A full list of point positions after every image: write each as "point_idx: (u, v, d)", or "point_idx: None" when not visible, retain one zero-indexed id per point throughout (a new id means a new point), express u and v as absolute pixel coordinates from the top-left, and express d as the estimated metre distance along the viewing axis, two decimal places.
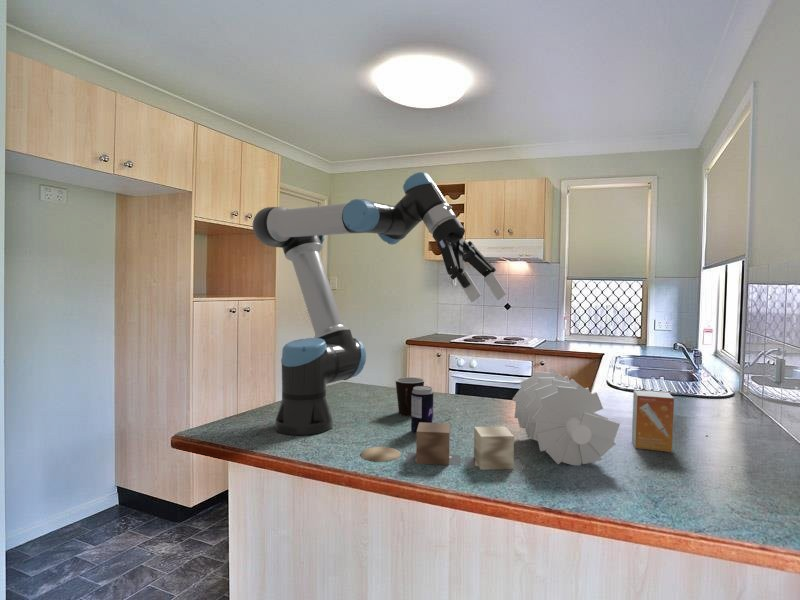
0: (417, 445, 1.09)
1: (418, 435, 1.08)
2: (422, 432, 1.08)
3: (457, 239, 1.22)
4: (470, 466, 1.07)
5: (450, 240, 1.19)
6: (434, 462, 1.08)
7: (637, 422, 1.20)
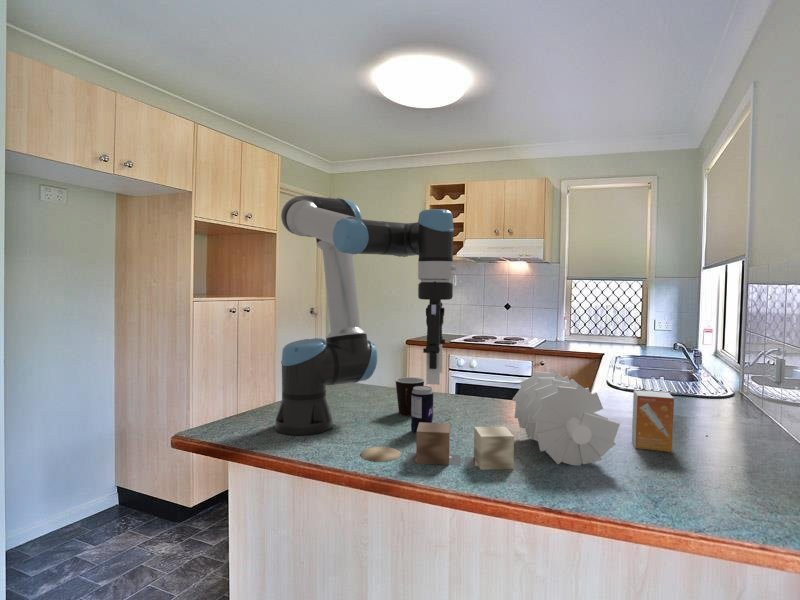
0: (417, 445, 1.09)
1: (418, 435, 1.08)
2: (422, 432, 1.08)
3: None
4: (470, 466, 1.07)
5: None
6: (434, 462, 1.08)
7: (637, 422, 1.20)
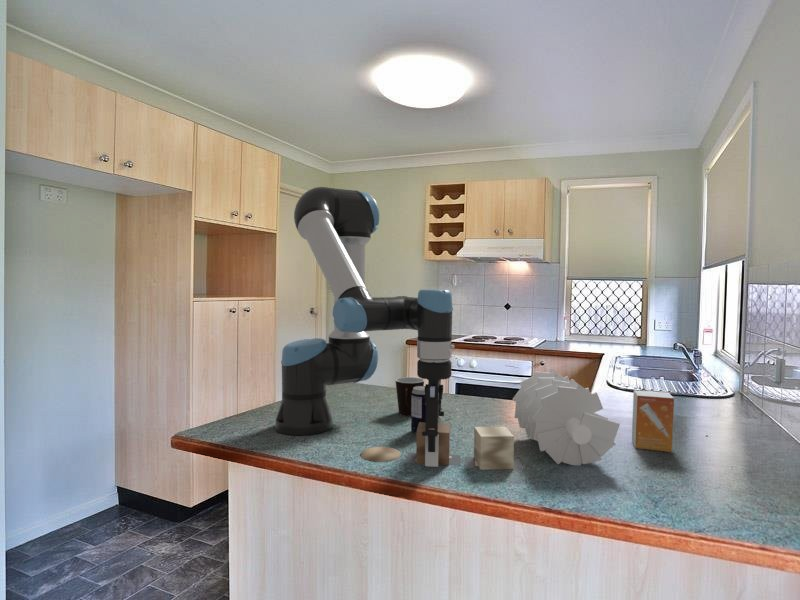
0: (417, 445, 1.09)
1: (418, 435, 1.08)
2: None
3: None
4: (470, 466, 1.07)
5: (437, 387, 1.07)
6: None
7: (637, 422, 1.20)
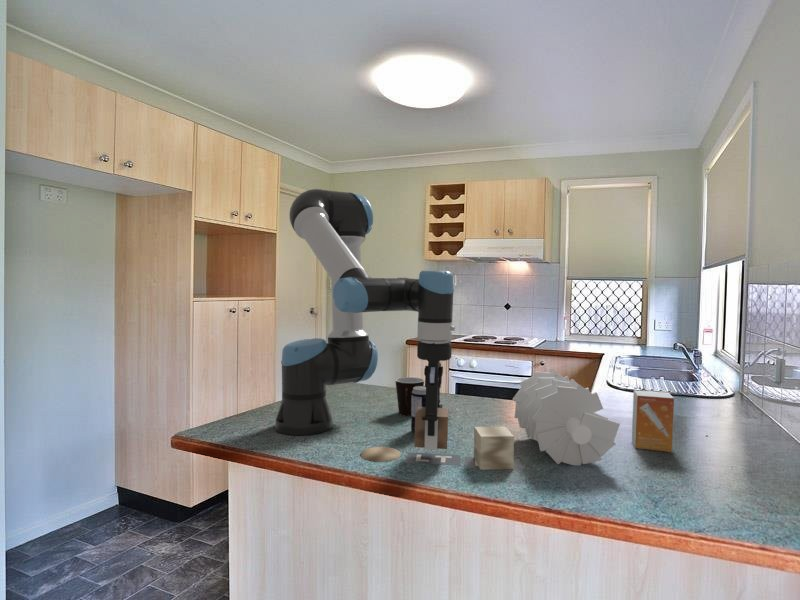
0: (416, 429, 1.09)
1: (417, 419, 1.09)
2: (420, 416, 1.08)
3: None
4: (470, 466, 1.07)
5: (437, 370, 1.07)
6: None
7: (637, 422, 1.20)
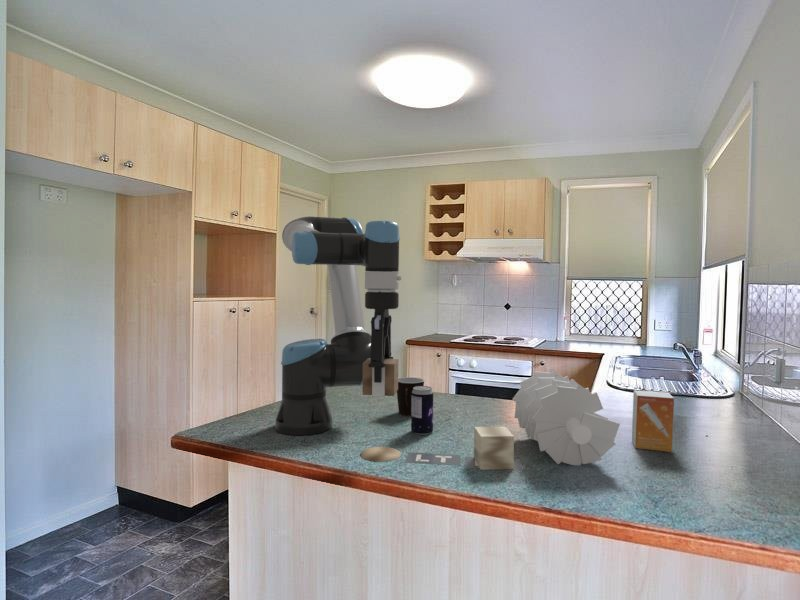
0: (364, 377, 1.10)
1: (364, 367, 1.10)
2: (368, 364, 1.10)
3: (386, 312, 1.13)
4: (470, 466, 1.07)
5: (383, 317, 1.09)
6: None
7: (637, 422, 1.20)
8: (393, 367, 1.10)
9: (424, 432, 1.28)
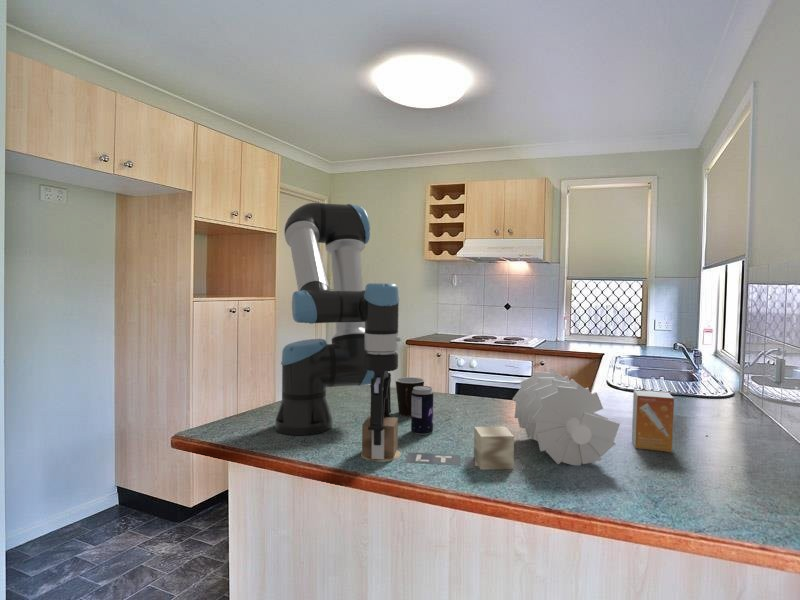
0: (363, 438, 1.11)
1: (364, 428, 1.11)
2: (367, 426, 1.11)
3: (385, 373, 1.13)
4: (470, 466, 1.07)
5: (382, 380, 1.09)
6: None
7: (637, 422, 1.20)
8: (392, 429, 1.10)
9: (424, 432, 1.28)
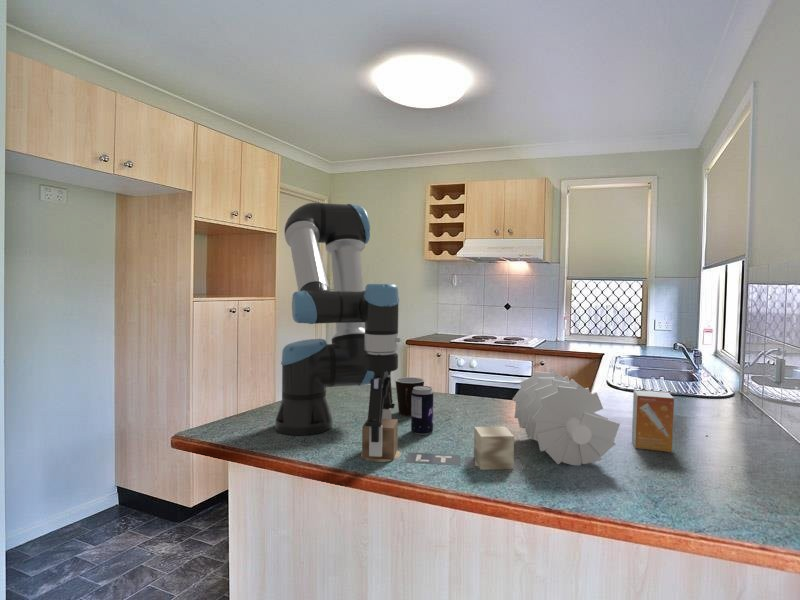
0: (363, 440, 1.11)
1: (364, 430, 1.11)
2: (367, 428, 1.11)
3: (385, 374, 1.13)
4: (470, 466, 1.07)
5: (382, 379, 1.10)
6: (379, 457, 1.11)
7: (637, 422, 1.20)
8: (392, 431, 1.10)
9: (424, 432, 1.28)
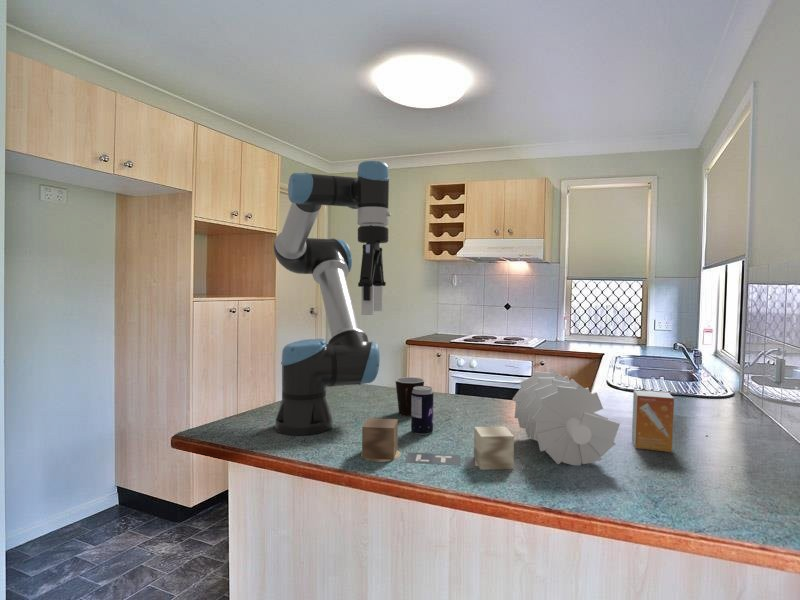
0: (363, 440, 1.11)
1: (364, 430, 1.11)
2: (367, 428, 1.11)
3: (377, 246, 1.23)
4: (470, 466, 1.07)
5: (374, 247, 1.20)
6: (379, 457, 1.11)
7: (637, 422, 1.20)
8: (392, 431, 1.10)
9: (424, 432, 1.28)
